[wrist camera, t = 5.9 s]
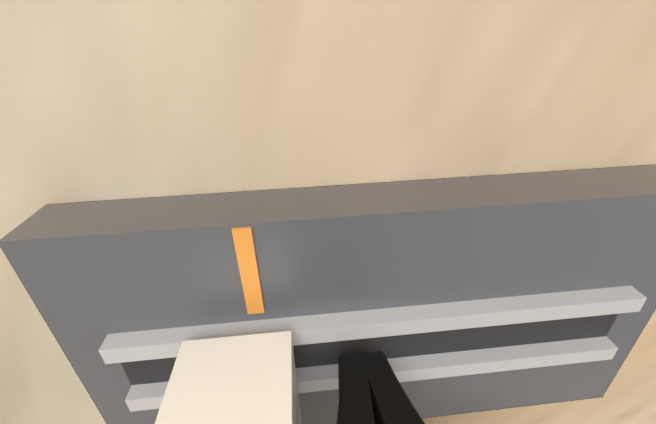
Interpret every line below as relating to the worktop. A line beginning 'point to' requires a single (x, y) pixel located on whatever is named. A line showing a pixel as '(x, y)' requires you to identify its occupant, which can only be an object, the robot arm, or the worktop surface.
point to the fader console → (357, 285)
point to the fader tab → (233, 382)
